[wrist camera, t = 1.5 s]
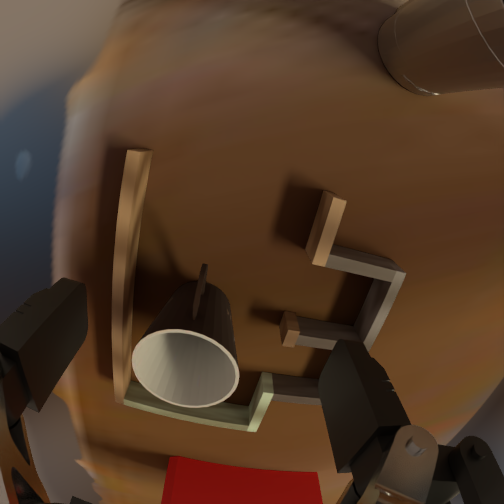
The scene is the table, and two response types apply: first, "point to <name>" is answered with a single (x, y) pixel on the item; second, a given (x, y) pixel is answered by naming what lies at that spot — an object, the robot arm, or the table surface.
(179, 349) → the coffee mug
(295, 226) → the table surface
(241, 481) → the book
